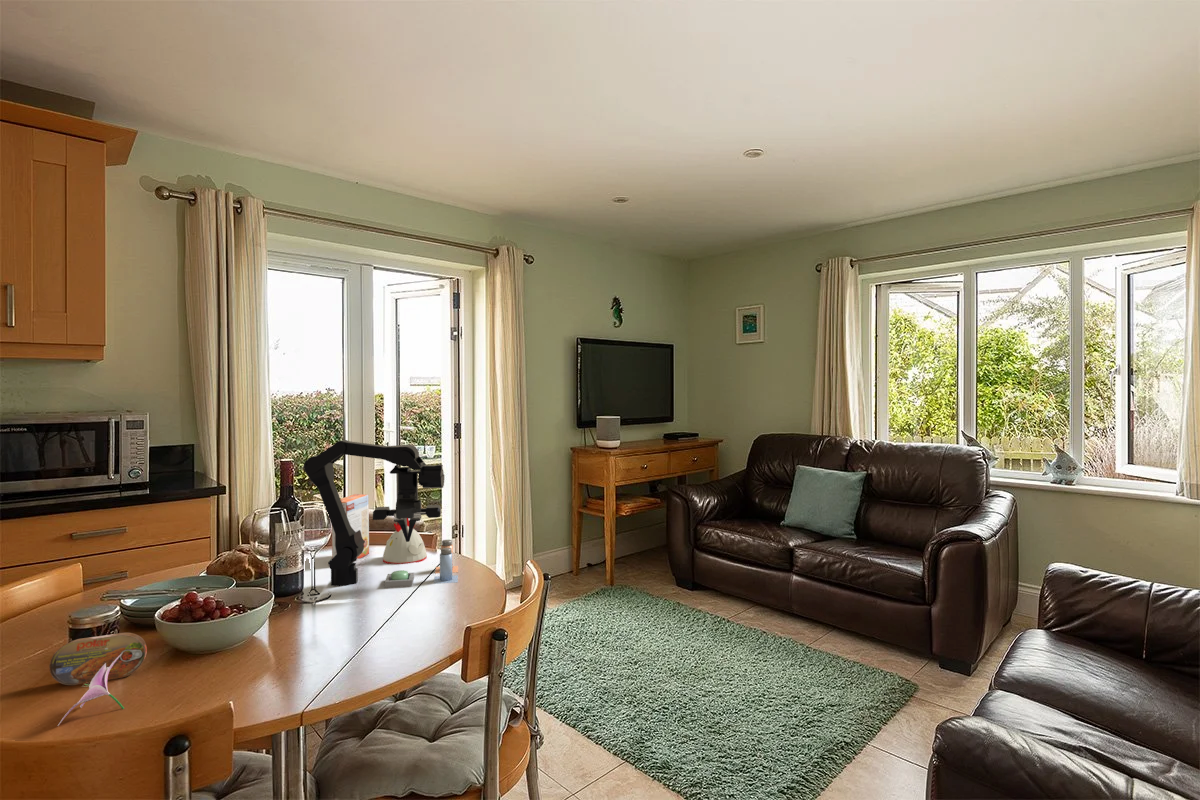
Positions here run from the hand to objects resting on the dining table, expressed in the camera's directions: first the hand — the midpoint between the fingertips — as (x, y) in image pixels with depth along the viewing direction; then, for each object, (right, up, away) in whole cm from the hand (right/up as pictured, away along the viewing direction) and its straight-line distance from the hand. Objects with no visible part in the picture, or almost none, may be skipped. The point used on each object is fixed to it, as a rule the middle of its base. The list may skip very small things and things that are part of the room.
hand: (407, 541), depth 179 cm
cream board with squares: (+4, -13, +6) cm, 14 cm away
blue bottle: (+11, -12, +2) cm, 16 cm away
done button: (-2, -12, -2) cm, 12 cm away
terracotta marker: (+8, -12, +12) cm, 18 cm away
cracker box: (-28, -12, +26) cm, 40 cm away
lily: (-33, -14, -70) cm, 79 cm away
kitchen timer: (-9, -13, +24) cm, 29 cm away
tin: (-43, -14, -58) cm, 73 cm away
